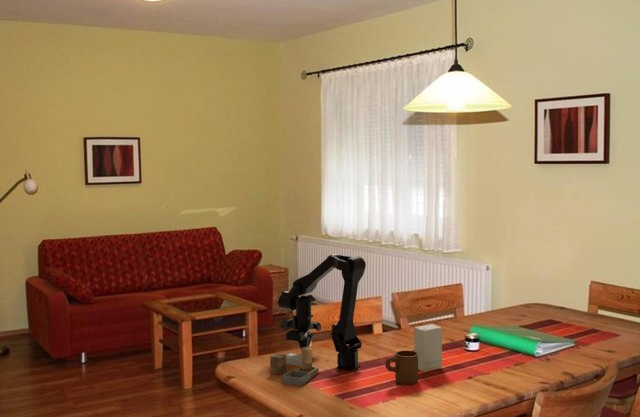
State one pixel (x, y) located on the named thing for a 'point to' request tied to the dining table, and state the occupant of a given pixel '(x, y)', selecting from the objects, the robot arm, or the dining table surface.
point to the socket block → (314, 371)
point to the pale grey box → (294, 359)
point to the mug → (404, 367)
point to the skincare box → (428, 346)
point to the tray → (296, 377)
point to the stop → (278, 364)
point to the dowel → (306, 359)
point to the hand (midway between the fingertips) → (303, 353)
